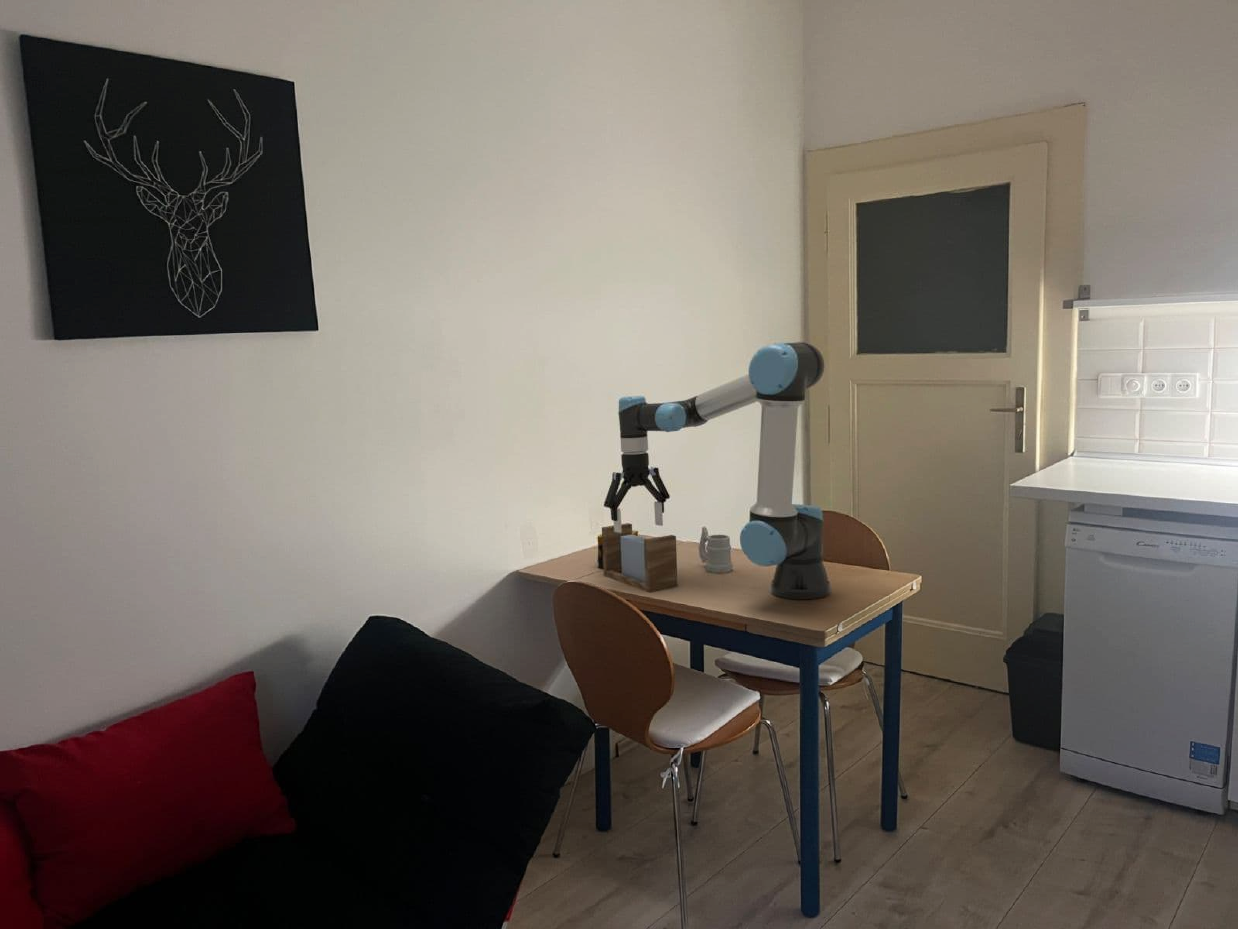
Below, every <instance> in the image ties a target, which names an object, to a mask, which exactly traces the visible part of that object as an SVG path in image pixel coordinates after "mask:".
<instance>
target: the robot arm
mask: <svg viewBox="0 0 1238 929" xmlns="http://www.w3.org/2000/svg"><path fill="white" fill-rule="evenodd" d="M824 371H825V360H824V357H823V354H822V353H821V351H820V350H819V349H818V348H817V347H816V346H814V345H813V344H811V343H808V342H804V341H803V342H801V341H797V342H775V343H772V344H771V343H770V344H767V345H764V346H762V347H761V348H760V349H758V350H757V351H756V352H755V353H754V354H753V356H752V357H751V360H750V362H749V365H748V374H746V375H745V374H744V376H741V377H739V378H736V379H734V380H731V381H729V382H727V383H724V384H721V385H719V386H717V387H715V388H712V389H709V390H708V391H705V392H703V393H701V394H698V395H695V396H693V397H690V398H688V399H685V400H676V401H670V402H669V401H668V402H659V403H658V402H657V403H656V402H655V403H647V400H646V397H645V396H644V395H632V396H623V397H620V398H619V400H618V413H617V414H618V422H619V432H620V433H619V436H620V440H619V441H620V452H621V453H622V454H621V455H620V456H621V458H620V460H621V467H622V472H616V471H613V472H612V479H611V483H610V486H609V489H608V492H607V494H606V497H605V499H604V502H603V507H605V508H608V509H610V519H611V521H612V522H613V525H614V532H618V533H622V527H621V524H622V510H621V508H619V507H620V505H621V503H622V502H623V500H624V498H625V497H626V495H627V493H628V492H629V491H630V489H632V488H636V487H638V486H639V487H642V486H644V487H645V489H646V490H647V491H648V492H649V493H650V495H652V497H653V498H654V499H655V500H656V501H654V502H653V506H654V508H653V509H654V524H655V525H656V526H659V527H661V526H663V525H664V520H663V514H664V513H665V503H666V502H667V500H668V499H670V498H671V495H670V494H669V491H668V490H667V488H666V485H665V483H664V482H663V479H662V477H661V476H660V470H659V467H654V466H651V467H650V468H649V465H650V457H649V453H648V452H647V451H648V450H649V441H648V440H649V439H648V438H649V437H648V432H666V433H671V432H679V431H680V430H681V429H686V428H691V427H694V428H696V427H700V426H702V425H705V424H707V423H708V422H709V421H711V420H713V419H716V418H718V417H720V416H724V415H726V414H728V413H731V412H735V411H737V410H739V409H741V408H744V407H747V406H749V405H752V404H755V403H759V404H760V405H761V411H760V412H761V415H760V432H759V433H760V434H759V436H760V437H759V451H758V452H759V453H758V470H757V471H758V472H757V490H756V502H755V503H754V504H753V505H752V506H751V507H750V509H749V520H748V522H747V523H746V524H745V525H744V527H742V529H741V531H740V534H739V543H740V548H741V549H742V553H743V554H744V555H745V556H746V557H747V559H748V560H749V561H750V562H751V563H753V564H755V565H757V566H759V567H772V566H776V567H775V571H774V575H773V579H772V580H771V582H770V592H771V594H772V595H774V596H776V597H779V598H784V599H789V600H814V599H822V598H824V597H827V596H829V595H830V594H831V582H830V581H829V578H828V575H827V570H826V568H825V565H824V518H823V510H822V509H821V508H820V506H817V505H811V504H809V505H808V504H797V503H793V492H794V490H793V489H794V477H795V476H794V475H795V457H796V444H797V443H796V442H797V427H798V415H799V414H798V411H799V410H798V409H799V407H800V406H801V405H802V404H804V402H805V400H806V389H809V388H812V387H814V386H815V385H816V384H817V383H819V381H820V380H821V378H822V376H823V374H824ZM649 476H651V479H652V480H653V482H652V481H651V480H650V479H649ZM622 480H623V481H622ZM621 481H622V482H621ZM652 483H654V485H655V486H654V485H653V484H652ZM619 487H620V488H619Z"/></svg>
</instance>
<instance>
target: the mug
mask: <svg viewBox="0 0 1238 929" xmlns="http://www.w3.org/2000/svg"><path fill="white" fill-rule="evenodd" d="M700 536H701V537H700V540H699V545H698V551H699V552H698V554H699V558H700V559H701V562H702V563H703V564H705V567H706V571H707V572H708V573H713V574H725V573H729V572H731V571H732V567H733V564H734V563H733V561H732V556H731V555H732V554H731V553H732V552H731V550H732V546H731V540H730V536H729V535H727V534H711V535H709V532H708V528H707V527H706V526H702V527H701V535H700ZM706 544H707V545H706Z"/></svg>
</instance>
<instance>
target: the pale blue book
mask: <svg viewBox="0 0 1238 929" xmlns="http://www.w3.org/2000/svg"><path fill="white" fill-rule="evenodd" d="M645 539H647V537H642V536H639V535H638V536H636V535H627V536H621V562H622V574H623V575H626V576H628V577H631V578H634V579H637V580H639V581H642V582H645V554H644V540H645ZM645 583H646V582H645Z"/></svg>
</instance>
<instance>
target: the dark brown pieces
mask: <svg viewBox="0 0 1238 929" xmlns="http://www.w3.org/2000/svg"><path fill="white" fill-rule="evenodd" d="M632 535H636V536H639V531H638V530H632ZM597 564H598V565H597V568H598V569H600V570H601V569H602V570H604V569H603V545H602V533H600V534H599V535H597Z"/></svg>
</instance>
